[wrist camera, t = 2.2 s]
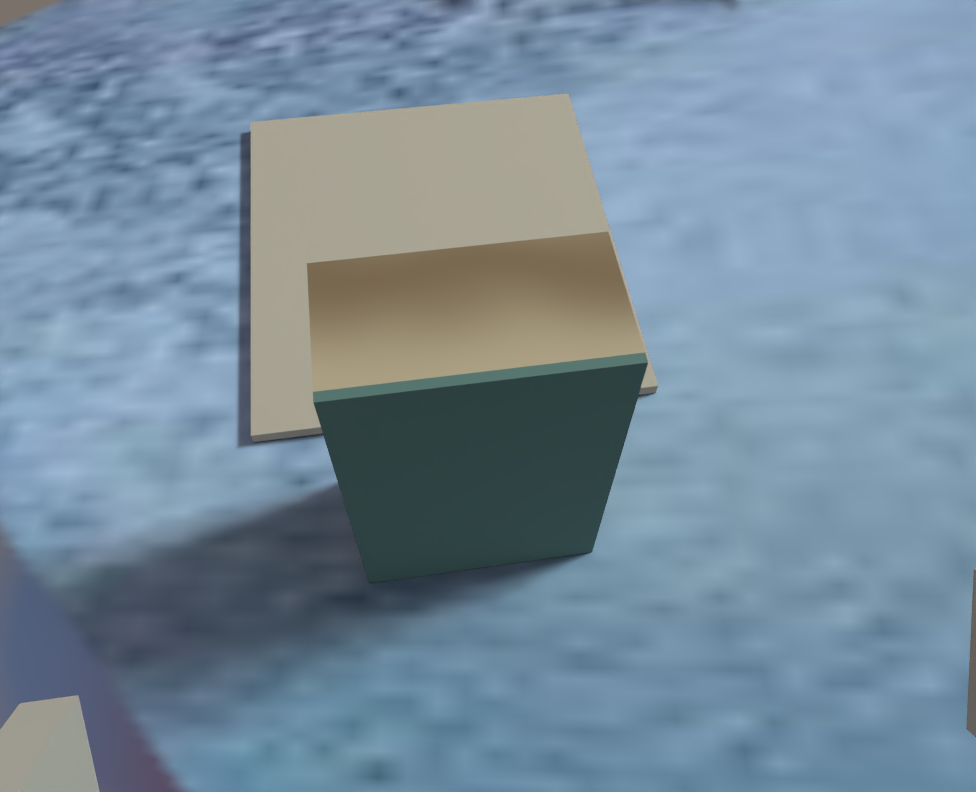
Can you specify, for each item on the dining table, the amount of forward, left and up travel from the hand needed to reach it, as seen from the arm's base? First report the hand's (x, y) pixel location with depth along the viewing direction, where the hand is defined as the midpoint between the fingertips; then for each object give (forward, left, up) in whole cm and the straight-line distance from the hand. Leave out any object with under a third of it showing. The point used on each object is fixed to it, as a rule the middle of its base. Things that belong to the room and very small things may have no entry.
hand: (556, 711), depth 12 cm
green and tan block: (+11, 0, -16) cm, 19 cm away
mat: (+24, 0, -16) cm, 28 cm away
